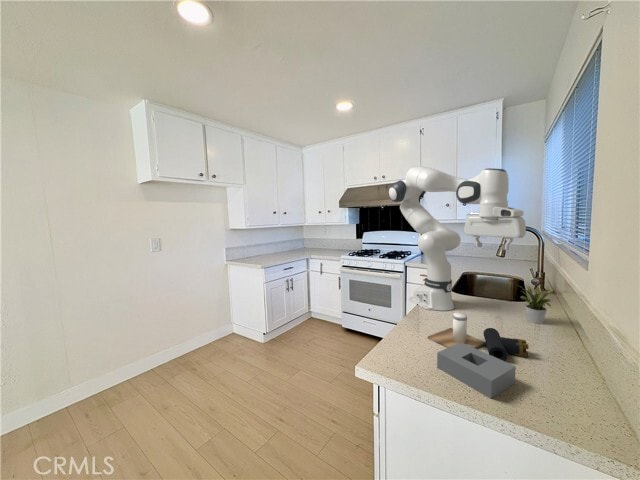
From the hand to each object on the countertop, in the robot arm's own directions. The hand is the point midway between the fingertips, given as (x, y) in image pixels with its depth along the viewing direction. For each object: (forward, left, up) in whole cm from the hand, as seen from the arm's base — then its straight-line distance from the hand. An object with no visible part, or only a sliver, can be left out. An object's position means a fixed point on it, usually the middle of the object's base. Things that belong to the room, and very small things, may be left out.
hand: (491, 248), depth 98 cm
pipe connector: (+10, -8, -35) cm, 37 cm away
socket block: (+12, -30, -34) cm, 47 cm away
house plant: (+3, +27, -34) cm, 44 cm away
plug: (-2, -16, -33) cm, 37 cm away
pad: (-3, -16, -34) cm, 38 cm away
